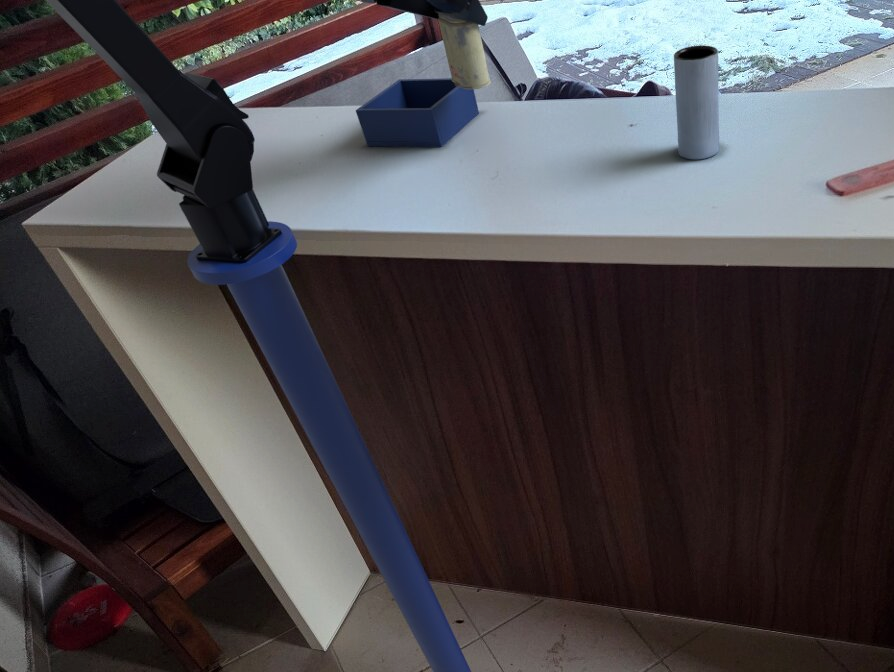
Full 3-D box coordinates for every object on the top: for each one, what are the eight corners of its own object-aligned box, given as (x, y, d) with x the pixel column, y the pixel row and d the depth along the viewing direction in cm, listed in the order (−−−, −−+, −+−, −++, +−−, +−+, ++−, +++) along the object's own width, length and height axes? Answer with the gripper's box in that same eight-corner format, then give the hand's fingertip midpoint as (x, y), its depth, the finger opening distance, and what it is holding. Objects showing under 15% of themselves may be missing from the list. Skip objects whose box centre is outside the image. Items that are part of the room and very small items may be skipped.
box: (441, 147, 95) (431, 109, 92) (367, 146, 98) (355, 110, 95) (479, 113, 102) (471, 77, 99) (409, 113, 106) (399, 79, 102)
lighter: (495, 85, 89) (476, -11, 82) (465, 94, 88) (443, -3, 81) (474, 73, 94) (454, -19, 87) (445, 80, 93) (423, -12, 86)
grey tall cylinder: (725, 144, 84) (724, 45, 77) (710, 161, 82) (708, 60, 75) (687, 142, 86) (683, 44, 79) (672, 158, 83) (666, 59, 76)
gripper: (443, -163, 68) (548, -48, 81) (332, -153, 78) (440, -52, 91) (400, -40, 69) (510, 53, 82) (296, -46, 79) (408, 38, 92)
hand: (465, 19), depth 87 cm, fingers closed on lighter, 7 cm apart
